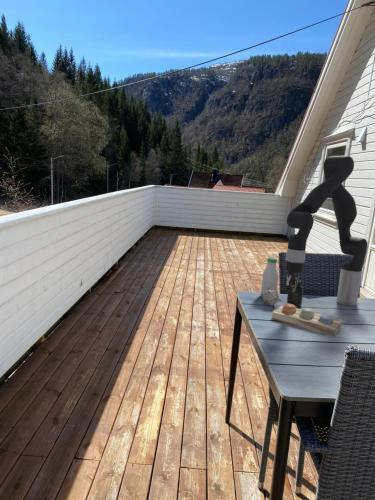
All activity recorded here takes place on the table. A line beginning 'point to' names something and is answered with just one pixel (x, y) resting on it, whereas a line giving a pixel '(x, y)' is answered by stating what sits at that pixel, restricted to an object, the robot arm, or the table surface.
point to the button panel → (307, 321)
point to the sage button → (307, 313)
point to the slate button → (325, 319)
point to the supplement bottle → (297, 296)
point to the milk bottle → (270, 276)
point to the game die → (270, 297)
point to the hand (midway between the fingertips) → (290, 299)
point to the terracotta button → (289, 308)
